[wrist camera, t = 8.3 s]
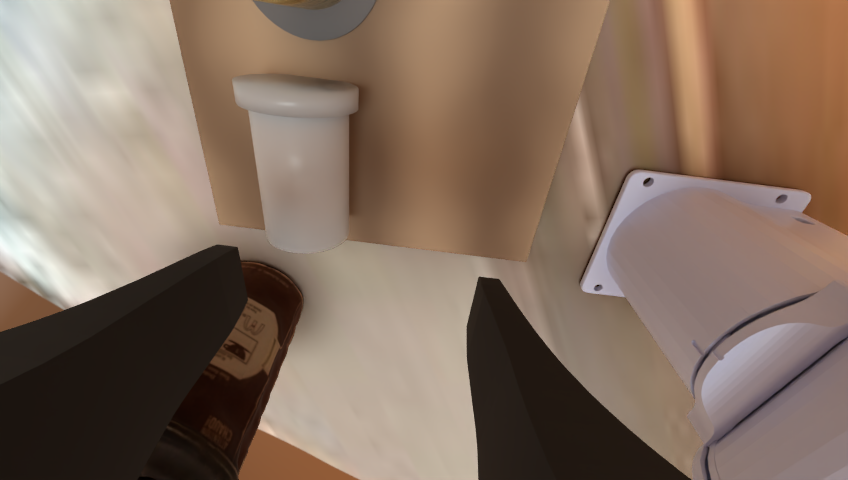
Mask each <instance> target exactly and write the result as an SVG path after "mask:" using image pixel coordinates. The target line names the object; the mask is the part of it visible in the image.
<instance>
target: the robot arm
mask: <svg viewBox="0 0 848 480" xmlns="http://www.w3.org/2000/svg"><path fill="white" fill-rule="evenodd" d="M646 178H650V180H649V182H648V183H646V184H643V181H644V180H645V179H646ZM780 195H781V196H780ZM779 196H780V197H779ZM778 197H779V198H778ZM777 198H778V199H777ZM776 199H777V200H776ZM810 200H811V195H810V193H808V192H805V191H803V190H798V189H790V188H782V187H774V186H766V185H758V184H750V183H742V182H735V181H727V180H719V179H711V178H703V177H695V176H687V175H679V174H671V173H663V172H655V171H647V170H634V171H632V172H631V173H629V174H628V176H627V177H626V179H625V182H624V184H623V186H622V188H621V191H620V193H619V195H618V198H617V200H616V202H615V205H614V207H613V209H612V211H611V214H610V216H609V218H608V221H607V223H606V225H605V227H604V230H603V232H602V234H601V237H600V239H599V241H598V243H597V246H596V248H595V250H594V253H593V255H592V257H591V259H590V262H589V264H588V266H587V269H586V271H585V273H584V276H583V278H582V280H581V282H580V286H581V288H582V290H583V291H584V292H587V293H594V294H602V295H611V296H619V297H626V299H627V300H628V302H629V303H630V305H631V306H632V308H633V309H634V310H635V312H636V313H637V315H638V316H639V318H640V319H641V321H642V322H643V324H644V325H645V327H646V328H647V330H648V331H649V333H650V334H651V336H652V337H653V338H654V340H655V341H656V343H657V344H658V346H659V347H660V349H661V350H662V352H663V353H664V355H665V356H666V358H667V359H668V361H669V362H670V364H671V365H672V367H673V368H674V369H675V371H676V372H677V374H678V375H679V377H680V378H681V380H682V381H683V383H684V384H685V386H686V387H687V389H688V390H689V392H690V393H691V395H692V396H693V397H694V399H695V405H694V407H693V409H692V410H691V411H690V412H689V413H688V415H687V417H688V419H689V421H690V422H691V424H692V425H693V427H694V429H695V430H696V432H697V433H698V435H699V437H700V438H701V440H702V441H703V443H704V444H703V445H702V446H701V447H700V448H698V450H697V452H696V454H695V456H694V458H693V464H692V475H693V480H848V236H847V235H845V234H843V233H841V232H839V231H837V230H835V229H833V228H831V227H829V226H827V225H825V224H823V223H821V222H819V221H817V220H815V219H813V218H811V217H809V216H807V215H805V214H803V213H802V211H803V210H804V209H805V207H806V206H807V205H808V203H809V202H810ZM596 285H599V286H598V287H595V286H596ZM247 301H248V296H247V291H246V286H245V281H244V276H243V271H242V266H241V261H240V256H239V251H238V247H232V246H224V245H215V246H212V247H210V248H207V249H205V250H202V251H200V252H198V253H196V254H193V255H191V256H189V257H187V258H185V259H182V260H180V261H178V262H176V263H174V264H172V265H169V266H167V267H165V268H163V269H161V270H159V271H156V272H154V273H152V274H150V275H148V276H146V277H143V278H141V279H139V280H137V281H134V282H132V283H130V284H127V285H125V286H123V287H120V288H118V289H116V290H113V291H111V292H109V293H106V294H104V295H101V296H99V297H97V298H94V299H92V300H90V301H87V302H85V303H82V304H80V305H77V306H74V307H72V308H69V309H66V310H64V311H62V312H58V313H55V314H53V315H50V316H47V317H44V318H41V319H39V320H36V321H33V322H30V323H27V324H24V325H21V326H18V327H15V328H12V329H8V330H5V331H2V332H0V480H138V478H139V476H140V474H141V472H142V470H143V469H144V467H145V465H146V463H147V461H148V459H149V457H150V456H151V454H152V452H153V450H154V448H155V447H156V445H157V443H158V441H159V440H160V438H161V436H162V434H163V433H164V431H165V429H166V427H167V426H168V424H169V422H170V421H171V419H172V417H173V415H174V414H175V412H176V411H177V409H178V407H179V406H180V404H181V403H182V401H183V400H184V398H185V397H186V395H187V394H188V393H189V391H190V390H191V388H192V387H193V386H194V384H195V383H196V381H197V380H198V379H199V377H200V376H201V374H202V373H203V372H204V370H205V369H206V367H207V366H208V365H209V363H210V362H211V360H212V359H213V358H214V356H215V355H216V353H217V352H218V350H219V349H220V348H221V346H222V345H223V343H224V342H225V340H226V339H227V338H228V336H229V335H230V333H231V332H232V330H233V329H234V327H235V325H236V323H237V321H238V319H239V318H240V316H241V314H242V312H243V310H244V308H245V306H246V304H247ZM467 363H468V371H469V379H470V387H471V395H472V403H473V411H474V419H475V427H476V437H477V449H478V479H479V480H691V479H690V478H688V477H687V476H686V475H684V474H683V473H682V472H680V471H679V470H678V469H677V468H675V467H674V466H673V465H672V464H670V463H669V462H668V461H667V460H665V459H664V458H663V457H662V456H660V455H659V454H658V453H657V452H656V451H654V450H653V449H652V448H651V447H649V446H648V445H647V444H646V443H645V442H643V441H642V440H641V439H640V438H639V437H637V436H636V435H635V434H634V433H633V432H632V431H630V430H629V429H628V428H627V427H626V426H625V425H624V424H623V423H621V422H620V421H619V420H618V419H617V418H616V417H615V416H614V415H613V414H612V413H610V412H609V411H608V410H607V409H606V408H605V407H604V406H603V405H602V404H601V403H600V402H599V401H598V400H596V399H595V398H594V397H593V396H592V395H591V394H590V393H589V392H588V391H587V390H586V389H585V388H584V387H583V386H582V384H581V383H580V382H579V381H578V380H577V379H576V378H575V377H574V376H573V375H572V374H571V373H570V372H569V371H568V370H567V369H566V368H565V367H564V365H563V364H562V363H561V362H560V361H559V360H558V359H557V357H556V356H555V355H554V354H553V353H552V351H551V350H550V349H549V348H548V347H547V345H546V344H545V343H544V342H543V340H542V339H541V338H540V337H539V335H538V334H537V333H536V331H535V330H534V329H533V327H532V326H531V325H530V323H529V322H528V320H527V319H526V318H525V316H524V315H523V313H522V312H521V311H520V309H519V308H518V306H517V305H516V303H515V302H514V300H513V299H512V297H511V296H510V294H509V293H508V291H507V290H506V288H505V287H504V285H503V284H502V283H501V281H500V280H499V279H493V278H485V277H479V278H478V282H477V286H476V290H475V294H474V299H473V303H472V307H471V311H470V315H469V319H468V323H467Z"/></svg>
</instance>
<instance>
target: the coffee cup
mask: <svg viewBox="0 0 848 480" xmlns="http://www.w3.org/2000/svg"><path fill="white" fill-rule="evenodd" d="M241 266H242V271H243V276H244V281H245V286H246V291H247V296H248V301H247V304H246V306H245V308H244V310H243V312H242V314H241V316H240V318H239V319H238V321H237V323H236V325H235V327H234V329H233V330H232V332H231V333H230V335H229V336H228V338H227V339H226V340H225V342H224V343H223V345H222V346H221V348H220V349H219V350H218V352H217V353H216V355H215V356H214V358H213V359H212V360H211V362H210V363H209V365H208V366H207V367H206V369H205V370H204V372H203V373H202V374H201V376H200V377H199V379H198V380H197V381H196V383H195V384H194V386H193V387H192V388H191V390H190V391H189V393H188V394H187V395H186V397H185V398H184V400H183V401H182V403H181V404H180V406H179V407H178V409H177V411H176V412H175V414H174V415H173V417H172V419H171V421H170V422H169V424H168V426H167V427H166V429H165V431H164V433H163V434H162V436H161V438H160V440H159V441H158V443H157V445H156V447H155V448H154V450H153V452H152V454H151V456H150V457H149V459H148V461H147V463H146V465H145V467H144V469H143V470H142V472H141V474H140V476H139V478H138V480H239V479H238V474H239V472H240V470H241V468H242V465H243V463H244V461H245V458H246V456H247V453H248V448H249V446H250V445H251V442H252V440H253V438H254V436H255V433H256V430H257V428H258V426H259V423H260V419H261V416H262V414H263V412H264V410H265V407H266V405H267V403H268V401H269V397H270V393H271V391H272V389H273V387H274V385H275V382H276V380H277V378H278V374H279V371H280V368H281V366H282V363H283V361H284V359H285V357H286V354H287V351H288V346H289V345H290V343H291V341H292V338H293V336H294V333H295V328H296V325H297V323H298V321H299V318H300V315H301V312H302V308H303V297H302V294H301V293H300V291H299V290H298V288H297V287H296V286H295V284H294V283H293V282H292V281H291V280H290V279H289V278H288V277H287V276H286V275H284V274H282V273H281V272H279V271H277V270H275V269H273V268H270V267H268V266H265V265H263V264H260V263H254V262H241Z"/></svg>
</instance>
